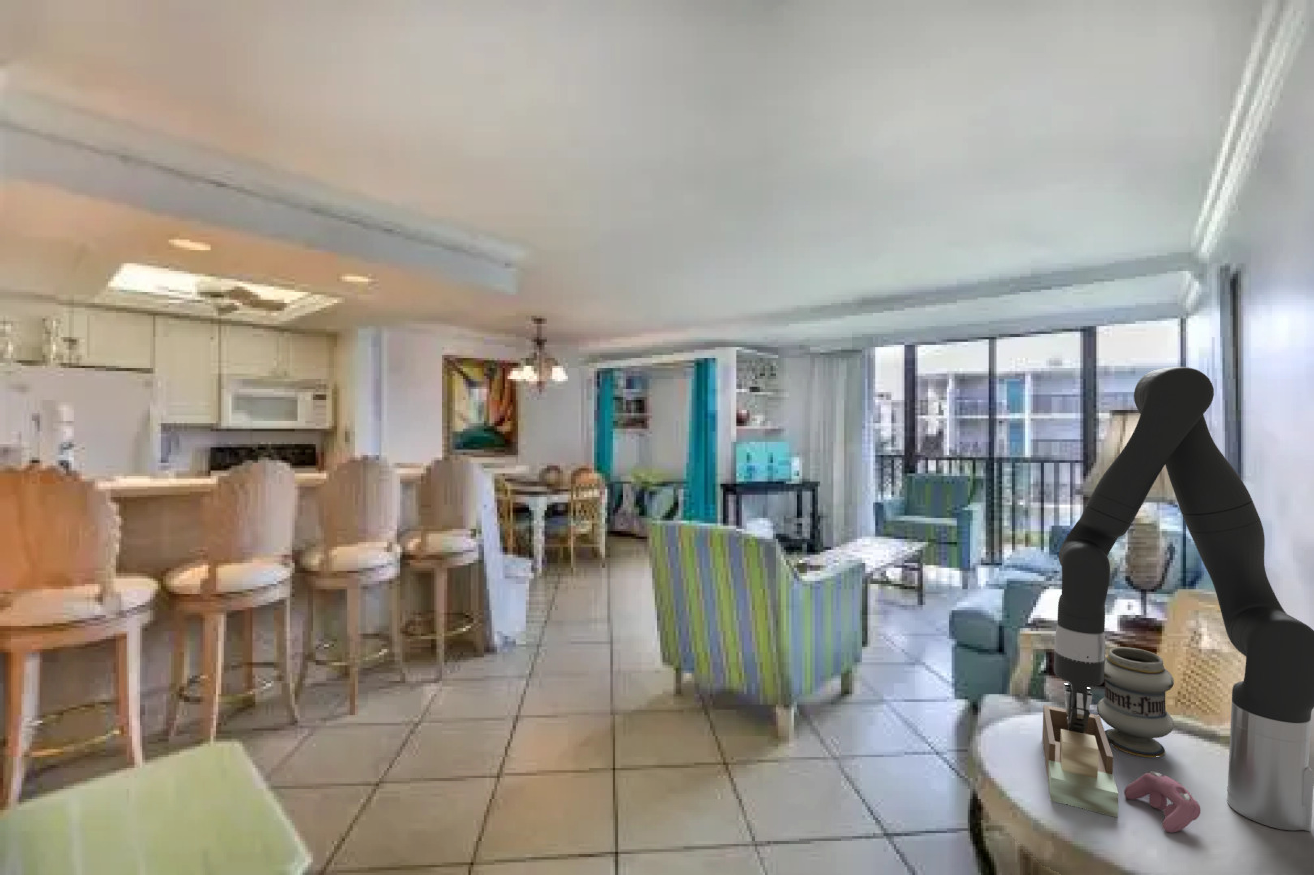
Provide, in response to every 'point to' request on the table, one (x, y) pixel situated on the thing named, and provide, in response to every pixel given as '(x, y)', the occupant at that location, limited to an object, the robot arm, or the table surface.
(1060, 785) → the channel
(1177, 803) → the video game controller
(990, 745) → the table surface
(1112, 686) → the apothecary jar
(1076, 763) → the maple block
